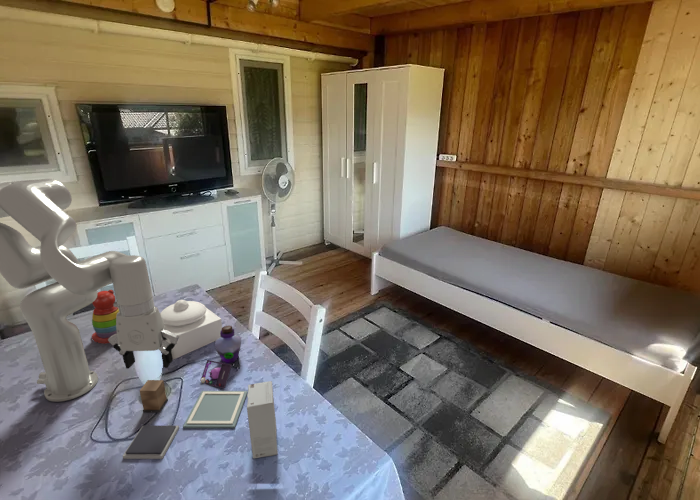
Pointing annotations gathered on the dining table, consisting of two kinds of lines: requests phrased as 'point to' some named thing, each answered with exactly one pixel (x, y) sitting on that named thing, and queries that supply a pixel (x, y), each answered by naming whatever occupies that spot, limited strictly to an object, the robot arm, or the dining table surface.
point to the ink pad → (151, 442)
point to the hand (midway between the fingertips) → (149, 365)
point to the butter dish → (190, 326)
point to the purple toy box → (216, 374)
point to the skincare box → (262, 419)
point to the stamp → (153, 396)
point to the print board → (216, 409)
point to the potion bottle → (228, 345)
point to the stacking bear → (104, 316)
